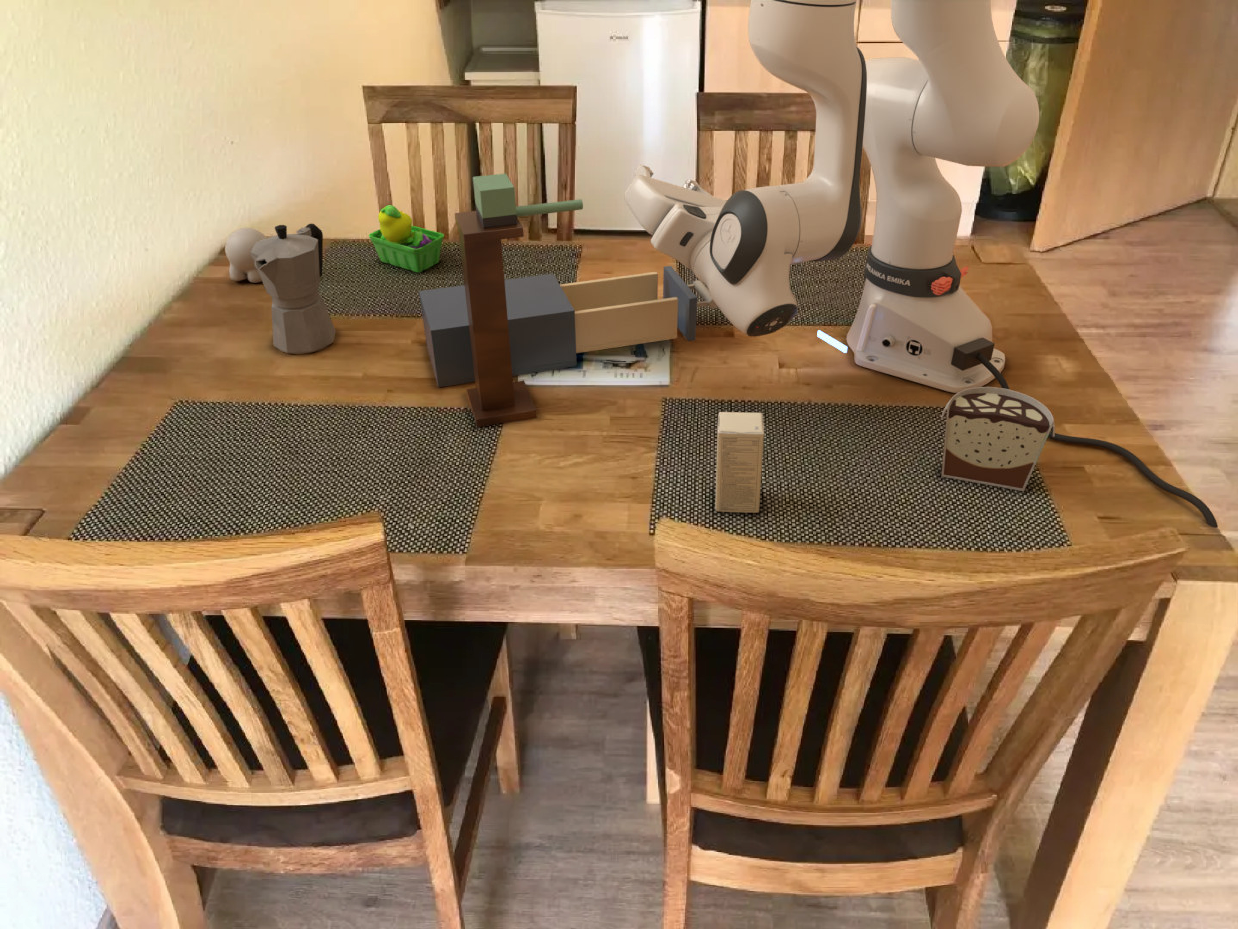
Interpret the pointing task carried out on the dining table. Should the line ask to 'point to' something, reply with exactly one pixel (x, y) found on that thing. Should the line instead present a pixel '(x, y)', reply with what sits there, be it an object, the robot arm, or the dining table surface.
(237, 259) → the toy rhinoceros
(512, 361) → the cabinet
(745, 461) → the box
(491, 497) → the dining table surface
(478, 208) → the brush
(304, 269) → the coffeepot
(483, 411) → the pedestal
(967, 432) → the food container
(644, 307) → the drawer
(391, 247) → the fruit basket
